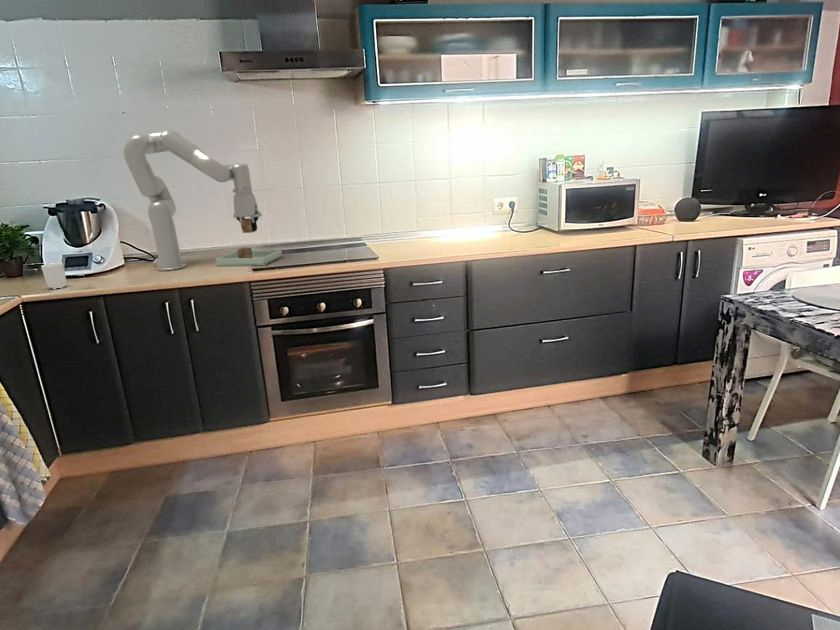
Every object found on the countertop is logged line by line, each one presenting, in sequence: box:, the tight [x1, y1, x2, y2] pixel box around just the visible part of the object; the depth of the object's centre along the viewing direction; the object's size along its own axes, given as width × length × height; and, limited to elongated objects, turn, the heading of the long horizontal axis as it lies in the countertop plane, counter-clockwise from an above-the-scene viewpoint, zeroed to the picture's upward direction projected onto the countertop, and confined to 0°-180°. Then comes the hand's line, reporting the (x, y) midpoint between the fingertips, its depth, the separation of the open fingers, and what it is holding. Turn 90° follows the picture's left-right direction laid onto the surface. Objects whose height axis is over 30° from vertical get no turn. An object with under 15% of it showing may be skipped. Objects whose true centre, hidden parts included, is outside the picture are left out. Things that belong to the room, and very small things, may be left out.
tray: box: [215, 250, 283, 267], centre depth 269 cm, size 24×18×4 cm
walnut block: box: [237, 246, 253, 258], centre depth 266 cm, size 4×4×6 cm
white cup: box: [40, 262, 68, 288], centre depth 240 cm, size 8×8×10 cm
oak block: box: [241, 217, 258, 234], centre depth 268 cm, size 4×4×6 cm
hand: (249, 230), depth 269 cm, fingers closed on oak block, 4 cm apart
